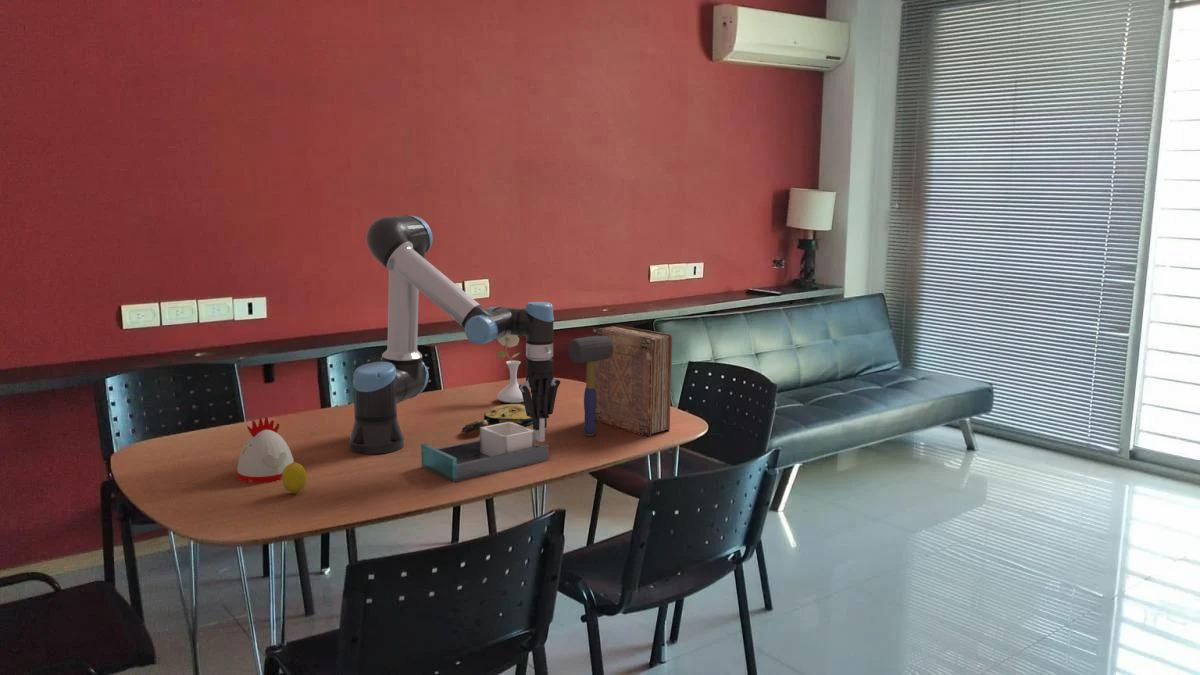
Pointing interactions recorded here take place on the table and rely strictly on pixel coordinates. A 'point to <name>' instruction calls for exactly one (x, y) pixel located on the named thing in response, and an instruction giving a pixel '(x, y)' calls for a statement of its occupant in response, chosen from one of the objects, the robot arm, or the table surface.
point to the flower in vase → (512, 389)
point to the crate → (505, 438)
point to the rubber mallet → (590, 371)
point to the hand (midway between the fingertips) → (539, 440)
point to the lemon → (294, 477)
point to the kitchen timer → (263, 454)
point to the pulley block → (502, 417)
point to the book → (634, 380)
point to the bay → (475, 460)
